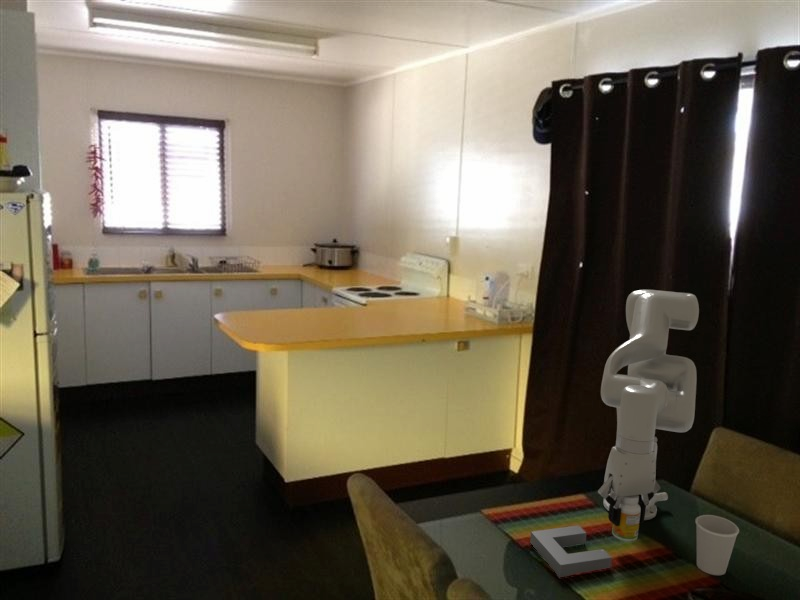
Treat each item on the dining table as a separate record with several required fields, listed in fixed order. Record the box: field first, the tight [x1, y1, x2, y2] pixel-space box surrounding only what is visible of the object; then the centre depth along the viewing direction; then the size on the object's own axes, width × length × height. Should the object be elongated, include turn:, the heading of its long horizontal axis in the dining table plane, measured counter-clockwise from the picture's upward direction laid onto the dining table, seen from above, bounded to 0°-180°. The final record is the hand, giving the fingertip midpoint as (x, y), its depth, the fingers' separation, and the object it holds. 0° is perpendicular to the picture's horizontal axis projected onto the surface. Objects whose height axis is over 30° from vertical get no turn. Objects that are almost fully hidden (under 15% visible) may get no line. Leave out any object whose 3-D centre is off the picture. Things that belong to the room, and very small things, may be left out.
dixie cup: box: [695, 514, 740, 576], centre depth 141 cm, size 8×8×10 cm
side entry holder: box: [529, 525, 613, 579], centre depth 143 cm, size 12×13×3 cm
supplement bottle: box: [611, 495, 641, 542], centre depth 145 cm, size 5×5×10 cm
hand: (626, 520), depth 146 cm, fingers closed on supplement bottle, 5 cm apart
